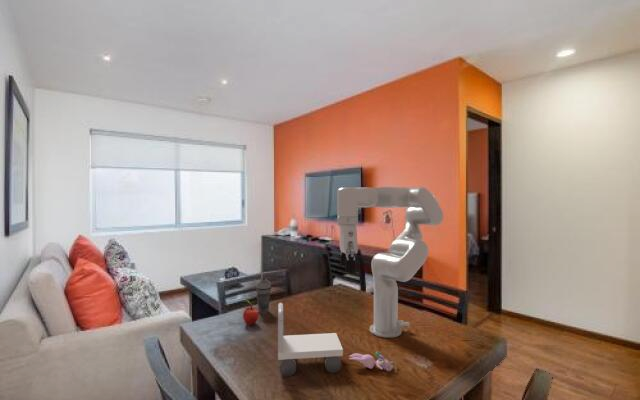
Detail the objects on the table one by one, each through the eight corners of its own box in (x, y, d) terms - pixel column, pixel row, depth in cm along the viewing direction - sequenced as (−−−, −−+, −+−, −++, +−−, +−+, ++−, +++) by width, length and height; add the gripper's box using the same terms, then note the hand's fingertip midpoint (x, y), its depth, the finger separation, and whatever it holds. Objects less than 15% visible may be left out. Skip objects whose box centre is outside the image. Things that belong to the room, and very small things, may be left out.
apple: (261, 321, 138) (261, 298, 138) (256, 327, 131) (256, 303, 131) (243, 320, 139) (243, 297, 138) (238, 327, 132) (238, 303, 132)
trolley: (335, 352, 110) (336, 300, 110) (343, 372, 98) (343, 313, 98) (278, 356, 108) (278, 302, 108) (277, 376, 95) (278, 316, 95)
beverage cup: (268, 315, 145) (268, 271, 145) (253, 313, 146) (253, 270, 146) (273, 309, 152) (273, 268, 152) (259, 308, 154) (259, 267, 153)
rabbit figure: (394, 368, 103) (348, 357, 105) (397, 351, 102) (351, 340, 105) (395, 379, 96) (347, 368, 99) (399, 361, 96) (350, 349, 98)
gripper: (363, 223, 107) (363, 273, 107) (352, 219, 124) (352, 263, 124) (342, 223, 106) (341, 274, 106) (333, 219, 123) (333, 263, 123)
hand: (347, 268), depth 115 cm, fingers open, 9 cm apart
